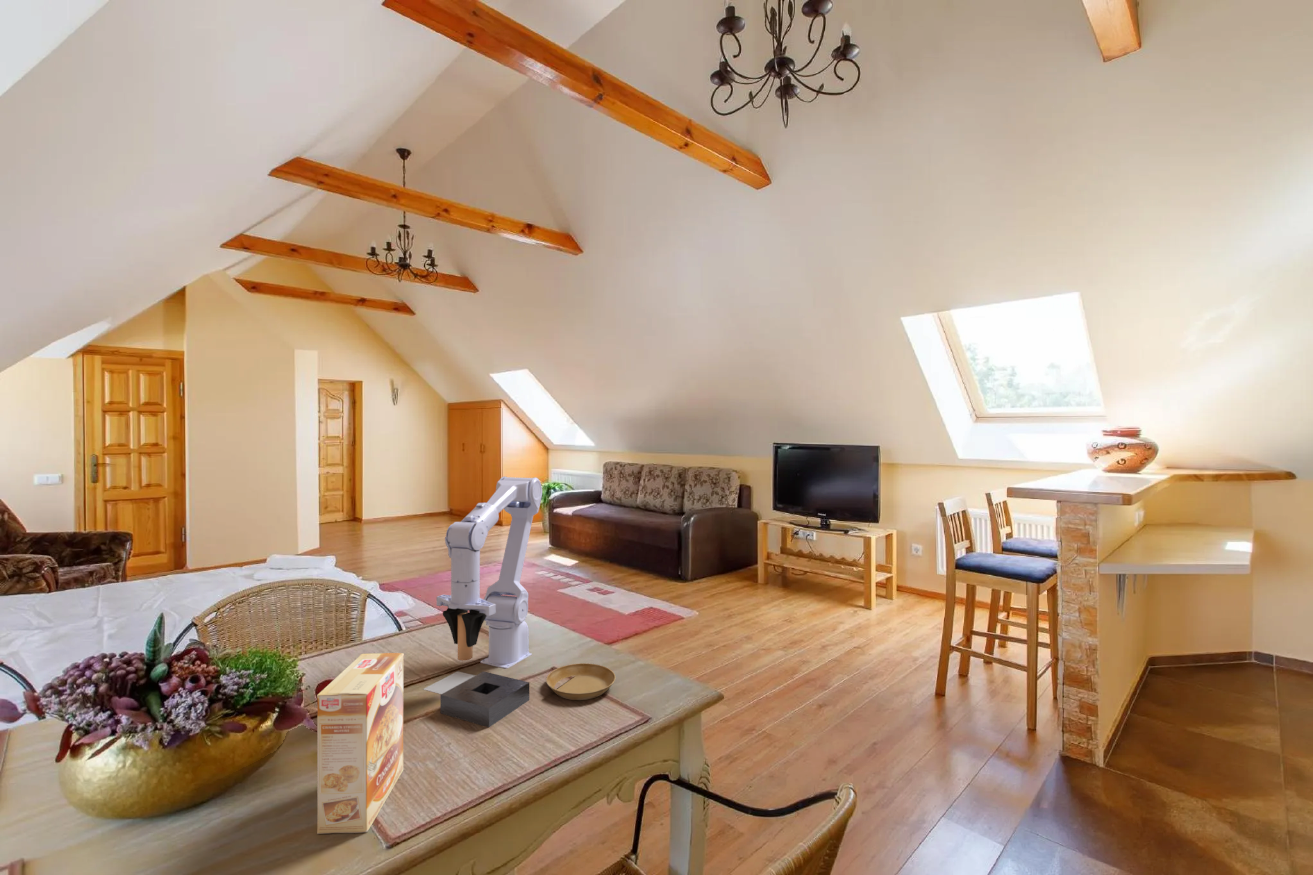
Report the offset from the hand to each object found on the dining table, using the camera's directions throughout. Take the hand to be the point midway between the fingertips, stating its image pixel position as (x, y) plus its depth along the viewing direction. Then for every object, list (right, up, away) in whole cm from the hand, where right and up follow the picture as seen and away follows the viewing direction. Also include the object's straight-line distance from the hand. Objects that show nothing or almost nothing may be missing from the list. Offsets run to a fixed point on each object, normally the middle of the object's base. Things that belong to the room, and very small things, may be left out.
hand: (465, 643), depth 123 cm
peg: (0, -3, 0) cm, 3 cm away
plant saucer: (+24, -11, +3) cm, 26 cm away
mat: (-2, -10, +3) cm, 11 cm away
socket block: (+6, -11, -7) cm, 14 cm away
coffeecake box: (-4, -11, -35) cm, 37 cm away
